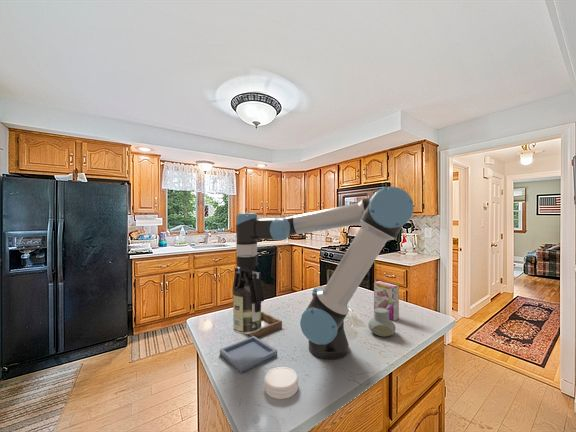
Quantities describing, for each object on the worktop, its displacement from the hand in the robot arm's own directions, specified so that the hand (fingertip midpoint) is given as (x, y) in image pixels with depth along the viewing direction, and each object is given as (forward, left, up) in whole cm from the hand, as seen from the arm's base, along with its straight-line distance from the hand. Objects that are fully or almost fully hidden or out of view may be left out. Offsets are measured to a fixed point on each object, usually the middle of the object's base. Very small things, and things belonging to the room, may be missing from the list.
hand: (247, 316), depth 90 cm
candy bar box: (-18, -69, -15) cm, 73 cm away
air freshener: (-25, -51, -15) cm, 59 cm away
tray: (0, 0, -14) cm, 14 cm away
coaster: (-21, +2, -15) cm, 26 cm away
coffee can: (0, 0, -4) cm, 4 cm away
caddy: (+16, -16, -14) cm, 27 cm away
